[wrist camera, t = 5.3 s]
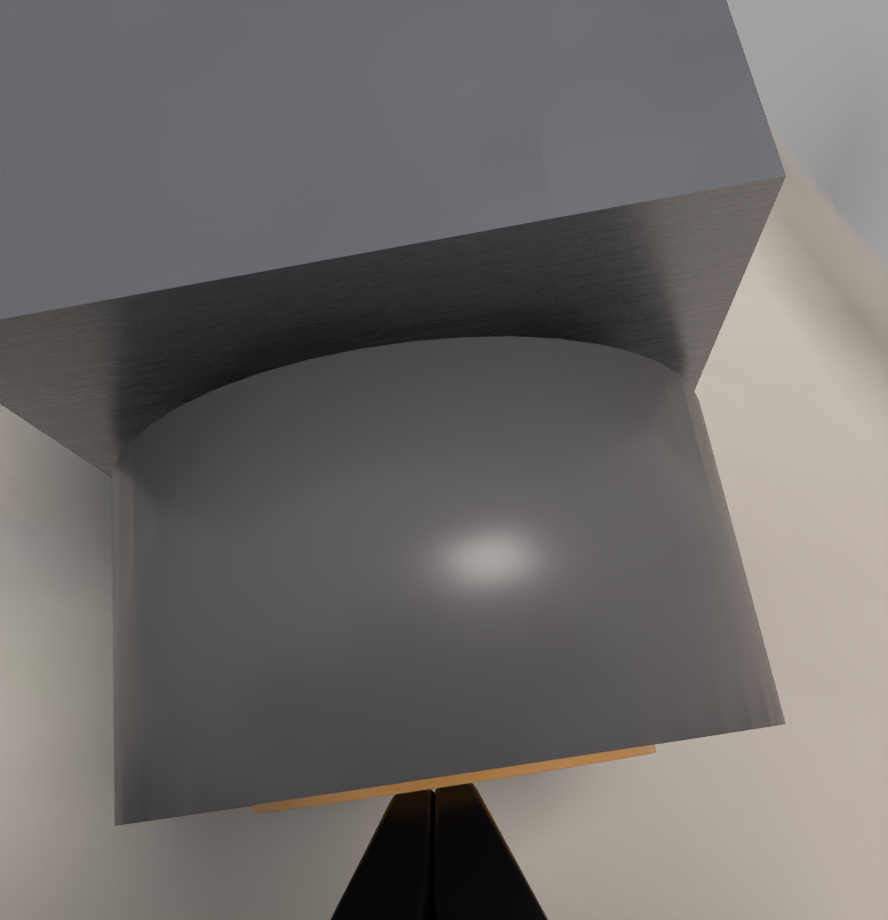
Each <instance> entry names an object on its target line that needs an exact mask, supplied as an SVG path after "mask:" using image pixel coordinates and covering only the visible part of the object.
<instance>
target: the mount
mask: <svg viewBox="0 0 888 920" xmlns="http://www.w3.org/2000/svg"><path fill="white" fill-rule="evenodd" d="M785 177H786V175H785V172H784V169H783V166H782V163H781V160H780V157H779V154H778V151H777V148H776V145H775V142H774V140H773V137H772V134H771V131H770V128H769V125H768V122H767V119H766V116H765V113H764V110H763V107H762V104H761V101H760V98H759V95H758V92H757V90H756V87H755V84H754V81H753V78H752V75H751V72H750V69H749V66H748V63H747V60H746V57H745V54H744V52H743V48H742V46H741V43H740V40H739V37H738V34H737V31H736V28H735V25H734V22H733V19H732V16H731V13H730V10H729V7H728V4H727V1H726V0H0V404H1V405H3V406H4V407H6V408H7V409H9V410H10V411H12V412H13V413H15V414H16V415H18V416H19V417H21V418H22V419H24V420H25V421H27V422H28V423H30V424H31V425H33V426H34V427H36V428H38V429H39V430H41V431H42V432H44V433H45V434H47V435H48V436H50V437H51V438H53V439H54V440H56V441H57V442H59V443H60V444H62V445H63V446H65V447H66V448H68V449H69V450H71V451H72V452H74V453H75V454H77V455H78V456H80V457H81V458H83V459H84V460H86V461H87V462H89V463H90V464H92V465H94V466H95V467H97V468H98V469H100V470H101V471H103V472H104V473H106V474H107V475H109V476H110V477H112V472H113V469H114V467H115V465H116V462H117V460H118V457H119V456H120V455H121V453H122V452H123V451H124V450H125V448H126V447H127V446H128V445H129V443H130V442H131V441H132V440H133V439H134V438H135V437H136V436H138V435H139V434H140V433H141V432H142V431H144V430H145V429H146V428H147V427H148V426H150V425H151V424H152V423H153V422H155V421H157V420H158V419H160V418H161V417H163V416H165V415H166V414H168V413H170V412H171V411H173V410H175V409H176V408H178V407H180V406H181V405H183V404H185V403H188V402H190V401H192V400H194V399H196V398H198V397H200V396H203V395H205V394H207V393H209V392H211V391H213V390H215V389H218V388H220V387H223V386H226V385H229V384H231V383H234V382H237V381H240V380H242V379H245V378H248V377H251V376H253V375H256V374H259V373H262V372H266V371H269V370H273V369H276V368H280V367H284V366H287V365H291V364H294V363H298V362H301V361H305V360H309V359H314V358H318V357H323V356H328V355H333V354H337V353H342V352H347V351H352V350H357V349H363V348H369V347H376V346H383V345H390V344H397V343H404V342H411V341H423V340H435V339H447V338H459V337H502V336H517V337H536V338H554V339H565V340H572V341H579V342H586V343H594V344H600V345H605V346H609V347H613V348H617V349H621V350H625V351H629V352H633V353H636V354H639V355H641V356H644V357H646V358H649V359H652V360H654V361H657V362H659V363H661V364H663V365H665V366H666V367H668V368H670V369H671V370H673V371H675V372H676V373H678V374H680V375H681V376H682V377H683V378H684V379H685V380H686V381H687V382H688V383H689V384H690V385H691V386H692V387H693V389H694V390H695V388H696V385H697V383H698V381H699V378H700V376H701V374H702V371H703V369H704V367H705V364H706V362H707V360H708V357H709V355H710V353H711V350H712V348H713V345H714V343H715V341H716V338H717V336H718V334H719V331H720V329H721V327H722V324H723V322H724V320H725V317H726V315H727V313H728V310H729V308H730V306H731V303H732V301H733V299H734V296H735V294H736V292H737V289H738V287H739V285H740V282H741V280H742V277H743V275H744V273H745V270H746V268H747V266H748V263H749V261H750V259H751V256H752V254H753V252H754V249H755V247H756V245H757V242H758V240H759V238H760V235H761V233H762V231H763V228H764V226H765V224H766V221H767V219H768V216H769V214H770V212H771V209H772V207H773V205H774V202H775V200H776V198H777V195H778V193H779V191H780V188H781V186H782V184H783V181H784V179H785Z"/></svg>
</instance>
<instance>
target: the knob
mask: <svg viewBox="0 0 888 920" xmlns="http://www.w3.org/2000/svg"><path fill="white" fill-rule="evenodd" d="M112 555H113V673H114V791H115V825H123V824H130V823H137V822H144V821H151V820H157V819H164V818H171V817H178V816H185V815H191V814H198V813H205V812H211V811H218V810H225V809H232V808H238V807H245V806H252V813H253V814H255V813H265V812H273V811H281V810H288V809H296V808H303V807H310V806H317V805H324V804H331V803H339V802H345V801H352V800H359V799H366V798H373V797H380V796H387V795H393V794H400V793H407V792H414V791H420V790H427V789H434V788H440V787H447V786H453V785H460V784H467V783H473V782H480V781H486V780H493V779H499V778H505V777H512V776H518V775H525V774H531V773H537V772H544V771H550V770H556V769H563V768H569V767H575V766H581V765H587V764H594V763H600V762H606V761H612V760H618V759H624V758H629V757H635V756H641V755H646V754H651V753H655V752H656V748H655V744H661V743H667V742H674V741H680V740H687V739H693V738H699V737H706V736H712V735H719V734H725V733H732V732H738V731H744V730H751V729H757V728H763V727H770V726H776V725H782V724H785V720H784V716H783V712H782V709H781V705H780V701H779V697H778V694H777V690H776V686H775V683H774V679H773V675H772V671H771V668H770V664H769V660H768V656H767V653H766V649H765V645H764V641H763V638H762V634H761V630H760V627H759V623H758V619H757V615H756V612H755V608H754V604H753V600H752V597H751V593H750V589H749V585H748V582H747V578H746V574H745V571H744V567H743V563H742V559H741V556H740V552H739V548H738V544H737V541H736V537H735V533H734V530H733V526H732V522H731V518H730V515H729V511H728V507H727V503H726V500H725V496H724V492H723V488H722V485H721V481H720V477H719V474H718V470H717V466H716V462H715V459H714V455H713V451H712V447H711V444H710V440H709V436H708V433H707V429H706V425H705V421H704V418H703V414H702V410H701V406H700V403H699V400H698V398H697V396H696V394H695V392H694V389H693V387H692V386H691V385H690V384H689V383H688V382H687V381H686V380H685V379H684V378H683V377H682V376H681V375H680V374H678V373H676V372H675V371H673V370H671V369H670V368H668V367H666V366H665V365H663V364H661V363H659V362H657V361H654V360H652V359H649V358H646V357H644V356H641V355H639V354H636V353H633V352H629V351H625V350H621V349H617V348H613V347H609V346H605V345H600V344H594V343H586V342H579V341H572V340H565V339H554V338H536V337H517V336H502V337H459V338H447V339H435V340H423V341H411V342H404V343H397V344H390V345H383V346H376V347H369V348H363V349H357V350H352V351H347V352H342V353H337V354H333V355H328V356H323V357H318V358H314V359H309V360H305V361H301V362H298V363H294V364H291V365H287V366H284V367H280V368H276V369H273V370H269V371H266V372H262V373H259V374H256V375H253V376H251V377H248V378H245V379H242V380H240V381H237V382H234V383H231V384H229V385H226V386H223V387H220V388H218V389H215V390H213V391H211V392H209V393H207V394H205V395H203V396H200V397H198V398H196V399H194V400H192V401H190V402H188V403H185V404H183V405H181V406H180V407H178V408H176V409H175V410H173V411H171V412H170V413H168V414H166V415H165V416H163V417H161V418H160V419H158V420H157V421H155V422H153V423H152V424H151V425H150V426H148V427H147V428H146V429H145V430H144V431H142V432H141V433H140V434H139V435H138V436H136V437H135V438H134V439H133V440H132V441H131V442H130V443H129V445H128V446H127V447H126V448H125V450H124V451H123V452H122V453H121V455H120V456H119V457H118V460H117V462H116V465H115V467H114V469H113V472H112Z"/></svg>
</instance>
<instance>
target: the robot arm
mask: <svg viewBox="0 0 888 920" xmlns="http://www.w3.org/2000/svg"><path fill="white" fill-rule="evenodd" d="M331 920H548V919H547V917H546V915H545V913H544V911H543V910H542V908H541V906H540V904H539V902H538V900H537V899H536V897H535V895H534V893H533V891H532V889H531V888H530V886H529V884H528V882H527V880H526V878H525V876H524V875H523V873H522V871H521V869H520V867H519V865H518V864H517V862H516V860H515V858H514V856H513V854H512V853H511V851H510V849H509V847H508V845H507V843H506V842H505V840H504V838H503V836H502V834H501V832H500V831H499V829H498V827H497V825H496V823H495V821H494V819H493V818H492V816H491V814H490V812H489V810H488V808H487V807H486V805H485V803H484V801H483V799H482V797H481V796H480V794H479V792H478V790H477V788H476V787H475V786H474V785H473V784H472V783H467V784H460V785H453V786H447V787H440V788H437V789H436V791H435V793H434V792H433V791H432V790H430V789H427V790H420V791H414V792H407V793H400V794H396V795H395V796H394V797H393V798H392V800H391V801H390V803H389V805H388V807H387V809H386V811H385V813H384V815H383V817H382V819H381V821H380V823H379V825H378V827H377V829H376V831H375V833H374V835H373V837H372V839H371V841H370V843H369V845H368V847H367V849H366V851H365V853H364V855H363V857H362V859H361V861H360V863H359V865H358V867H357V869H356V870H355V872H354V874H353V876H352V878H351V880H350V882H349V884H348V886H347V888H346V890H345V892H344V894H343V896H342V898H341V900H340V902H339V904H338V906H337V908H336V910H335V912H334V914H333V916H332V918H331Z"/></svg>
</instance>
